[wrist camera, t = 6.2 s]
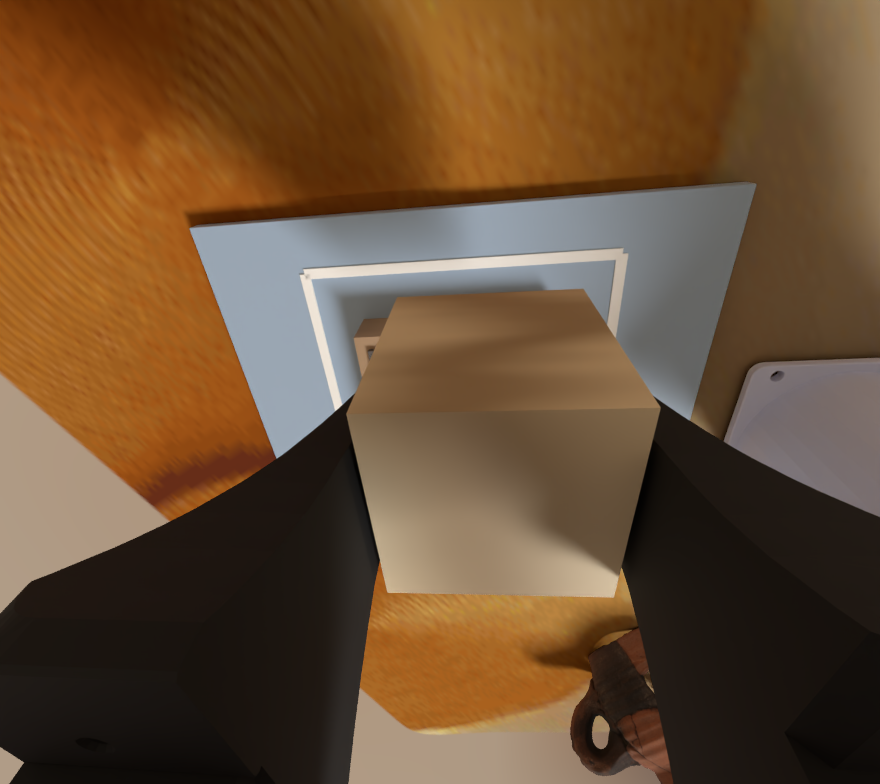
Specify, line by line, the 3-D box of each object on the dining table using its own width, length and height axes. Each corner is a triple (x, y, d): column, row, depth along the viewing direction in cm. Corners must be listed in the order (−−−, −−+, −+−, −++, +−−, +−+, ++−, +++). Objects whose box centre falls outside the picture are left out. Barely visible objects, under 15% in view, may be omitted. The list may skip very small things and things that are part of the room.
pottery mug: (677, 598, 28) (790, 747, 23) (680, 606, 35) (767, 720, 30) (527, 689, 30) (602, 847, 25) (560, 678, 37) (623, 798, 32)
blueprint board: (747, 181, 15) (795, 192, 12) (658, 508, 23) (677, 548, 21) (198, 225, 17) (156, 241, 14) (302, 510, 25) (286, 548, 23)
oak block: (583, 288, 10) (660, 407, 6) (566, 437, 13) (613, 597, 8) (396, 296, 11) (346, 414, 6) (415, 439, 13) (387, 592, 9)
